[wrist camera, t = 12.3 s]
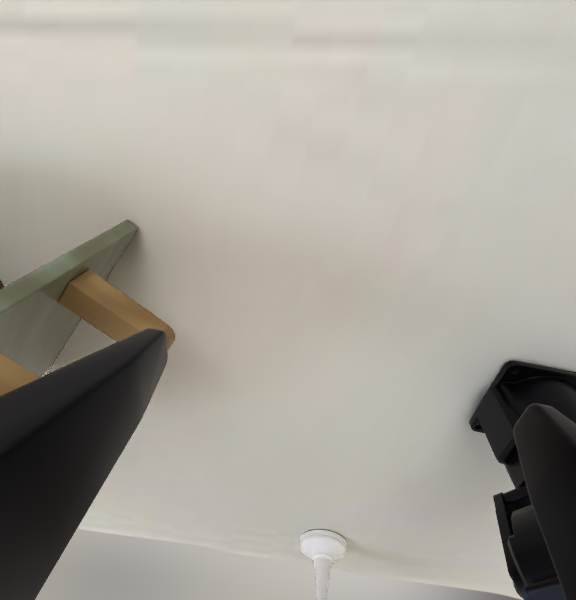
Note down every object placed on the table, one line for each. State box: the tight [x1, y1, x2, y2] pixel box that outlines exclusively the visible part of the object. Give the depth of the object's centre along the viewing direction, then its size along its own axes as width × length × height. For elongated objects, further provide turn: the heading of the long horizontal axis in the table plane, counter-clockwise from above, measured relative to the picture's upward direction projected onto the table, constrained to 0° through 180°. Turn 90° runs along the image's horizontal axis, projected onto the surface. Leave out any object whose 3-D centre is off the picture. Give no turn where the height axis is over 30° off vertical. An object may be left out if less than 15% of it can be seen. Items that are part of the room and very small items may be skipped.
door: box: [0, 220, 175, 396], centre depth 19 cm, size 7×16×14 cm, turn 140°
